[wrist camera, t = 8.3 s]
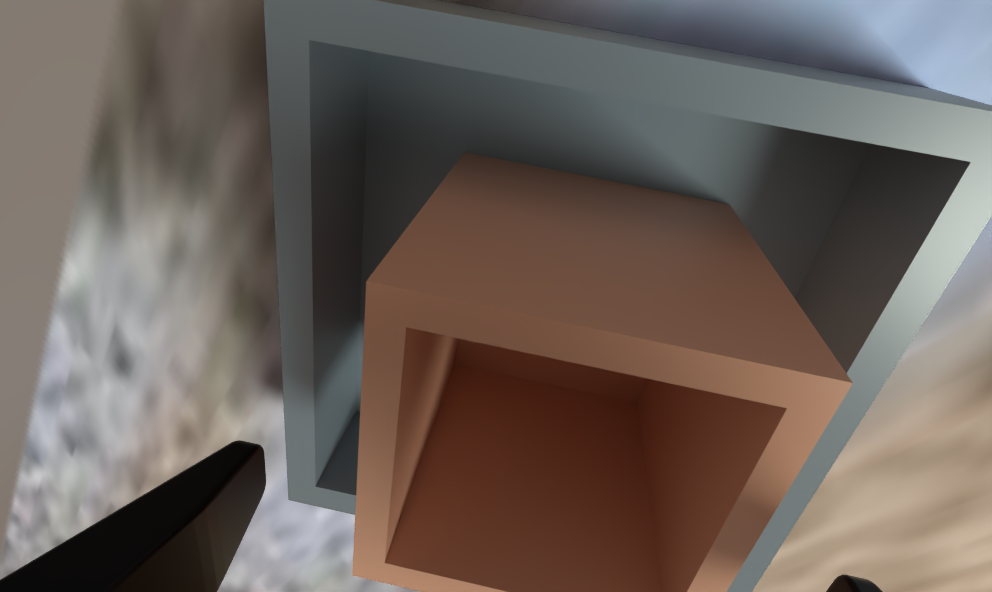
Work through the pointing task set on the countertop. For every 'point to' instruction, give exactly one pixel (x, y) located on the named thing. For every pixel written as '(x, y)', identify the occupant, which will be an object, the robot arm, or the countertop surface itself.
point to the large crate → (610, 156)
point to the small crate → (578, 390)
